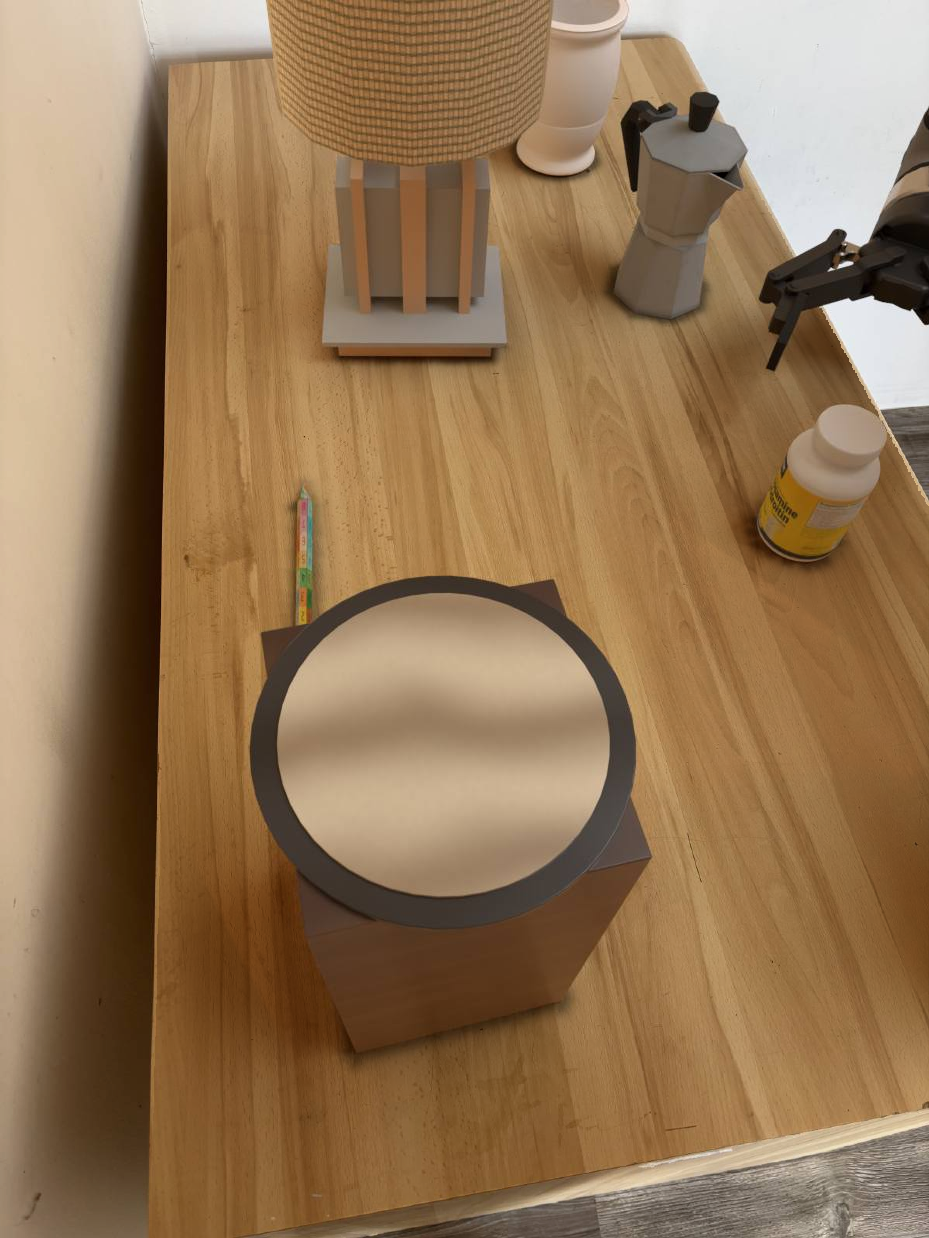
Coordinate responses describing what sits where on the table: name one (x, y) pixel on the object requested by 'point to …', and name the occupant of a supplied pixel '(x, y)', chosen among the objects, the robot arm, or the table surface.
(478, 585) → the tall brown block
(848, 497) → the pill bottle
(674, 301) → the coffee maker
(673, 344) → the table surface
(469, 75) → the desk lamp
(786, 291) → the robot arm
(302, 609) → the pencil
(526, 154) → the jar
